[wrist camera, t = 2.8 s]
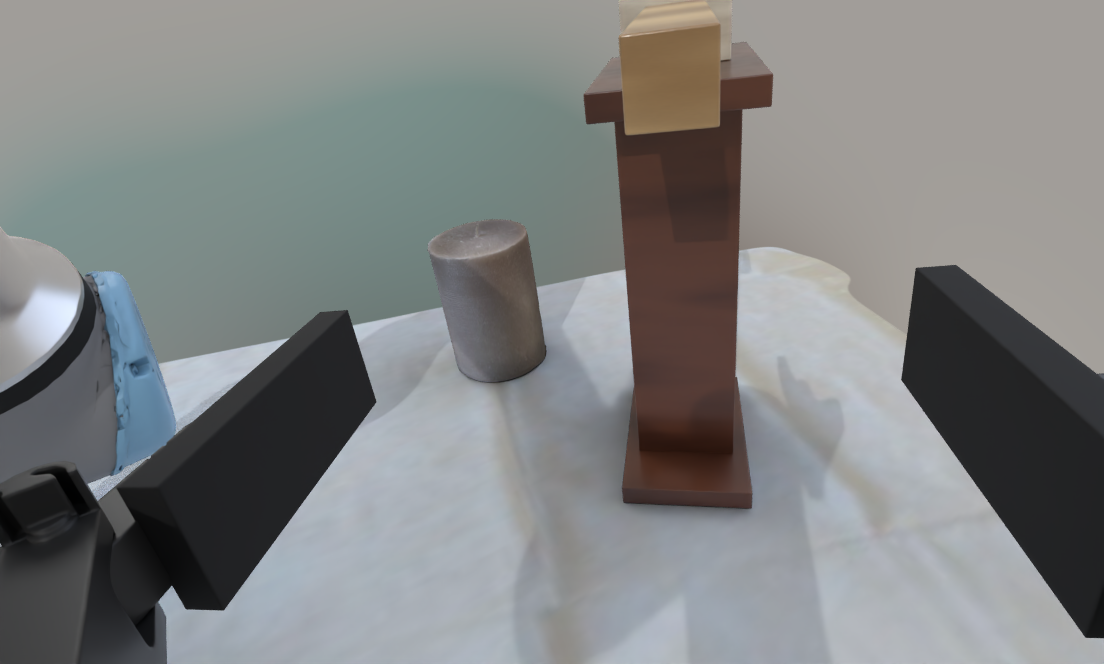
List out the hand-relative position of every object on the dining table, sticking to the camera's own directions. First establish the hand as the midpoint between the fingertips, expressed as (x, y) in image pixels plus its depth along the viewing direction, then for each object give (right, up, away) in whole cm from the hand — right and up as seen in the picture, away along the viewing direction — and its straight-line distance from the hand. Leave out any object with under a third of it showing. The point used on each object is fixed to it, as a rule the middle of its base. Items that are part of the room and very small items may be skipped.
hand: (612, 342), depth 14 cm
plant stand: (+10, -9, +35) cm, 37 cm away
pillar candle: (-7, -3, +50) cm, 50 cm away
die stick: (+5, +13, +16) cm, 21 cm away
